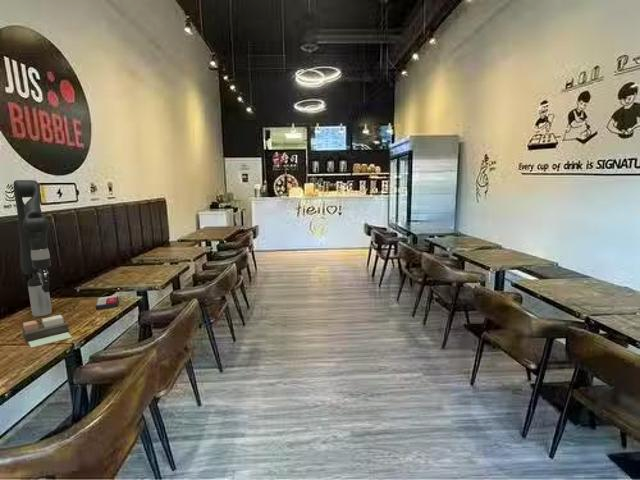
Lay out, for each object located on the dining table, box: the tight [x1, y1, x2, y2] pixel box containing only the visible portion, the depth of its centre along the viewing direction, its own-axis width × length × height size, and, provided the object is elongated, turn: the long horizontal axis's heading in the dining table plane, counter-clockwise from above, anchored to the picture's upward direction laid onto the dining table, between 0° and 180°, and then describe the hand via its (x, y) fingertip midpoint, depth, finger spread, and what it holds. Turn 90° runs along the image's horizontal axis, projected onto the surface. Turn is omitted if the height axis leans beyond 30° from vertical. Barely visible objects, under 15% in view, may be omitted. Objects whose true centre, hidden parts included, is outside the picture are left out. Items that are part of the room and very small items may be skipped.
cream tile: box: [41, 314, 65, 327], centre depth 199 cm, size 6×8×3 cm
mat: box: [27, 332, 73, 349], centre depth 189 cm, size 9×16×1 cm, turn 132°
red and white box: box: [95, 295, 120, 311], centre depth 240 cm, size 11×4×15 cm
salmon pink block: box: [22, 320, 39, 332], centre depth 193 cm, size 6×5×3 cm
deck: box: [21, 319, 70, 343], centre depth 197 cm, size 12×17×4 cm
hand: (45, 291), depth 203 cm, fingers open, 4 cm apart
